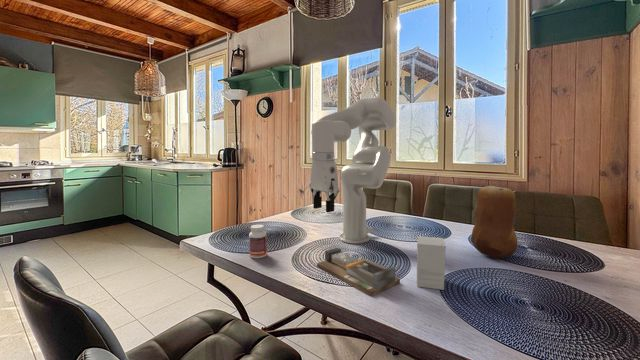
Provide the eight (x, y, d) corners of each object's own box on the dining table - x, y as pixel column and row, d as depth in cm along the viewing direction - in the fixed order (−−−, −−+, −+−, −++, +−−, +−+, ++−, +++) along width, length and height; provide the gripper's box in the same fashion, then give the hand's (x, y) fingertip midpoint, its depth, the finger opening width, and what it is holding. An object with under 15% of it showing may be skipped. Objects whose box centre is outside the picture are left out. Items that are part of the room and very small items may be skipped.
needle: (363, 269, 91) (363, 258, 91) (368, 272, 90) (368, 260, 89) (344, 276, 87) (344, 264, 86) (349, 279, 85) (349, 267, 85)
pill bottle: (269, 256, 107) (268, 226, 106) (253, 260, 103) (252, 229, 102) (263, 251, 112) (262, 222, 111) (247, 254, 109) (245, 225, 107)
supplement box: (442, 279, 88) (444, 237, 86) (444, 290, 81) (446, 246, 80) (416, 275, 90) (417, 235, 89) (415, 286, 83) (417, 243, 82)
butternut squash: (512, 252, 108) (517, 184, 105) (519, 266, 96) (525, 190, 93) (469, 247, 114) (473, 182, 111) (471, 260, 102) (475, 187, 99)
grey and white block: (337, 256, 102) (337, 247, 102) (364, 268, 92) (364, 259, 92) (325, 259, 99) (325, 251, 99) (351, 273, 89) (351, 263, 89)
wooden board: (344, 258, 105) (344, 243, 104) (399, 283, 86) (400, 265, 85) (317, 266, 98) (316, 251, 97) (370, 296, 78) (370, 277, 78)
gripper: (348, 158, 95) (348, 212, 97) (317, 156, 109) (317, 204, 111) (330, 159, 91) (330, 216, 93) (299, 157, 105) (300, 207, 107)
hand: (323, 209), depth 102 cm, fingers open, 6 cm apart
